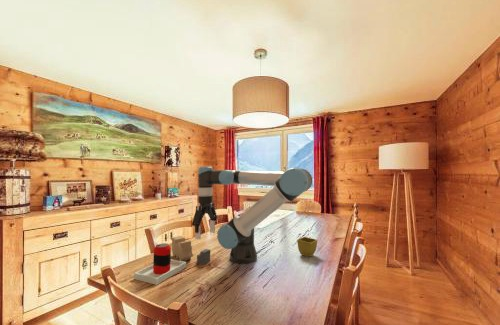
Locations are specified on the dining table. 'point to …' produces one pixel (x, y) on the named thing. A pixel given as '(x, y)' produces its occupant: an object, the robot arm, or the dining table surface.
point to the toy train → (181, 248)
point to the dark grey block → (203, 256)
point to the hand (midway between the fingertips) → (205, 235)
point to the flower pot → (307, 246)
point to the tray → (153, 278)
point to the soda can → (162, 258)
